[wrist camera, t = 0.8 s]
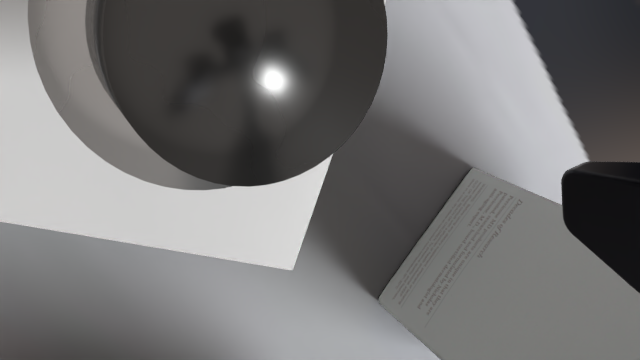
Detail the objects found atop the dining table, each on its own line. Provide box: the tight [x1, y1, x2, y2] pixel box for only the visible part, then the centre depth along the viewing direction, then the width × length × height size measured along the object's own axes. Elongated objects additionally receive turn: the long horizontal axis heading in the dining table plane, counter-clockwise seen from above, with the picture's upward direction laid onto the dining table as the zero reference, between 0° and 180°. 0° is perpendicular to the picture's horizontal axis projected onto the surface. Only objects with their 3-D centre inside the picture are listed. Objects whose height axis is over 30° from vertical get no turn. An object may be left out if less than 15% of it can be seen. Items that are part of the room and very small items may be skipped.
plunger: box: [27, 0, 387, 190], centre depth 12 cm, size 8×8×8 cm
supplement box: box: [379, 168, 640, 360], centre depth 23 cm, size 7×7×13 cm
